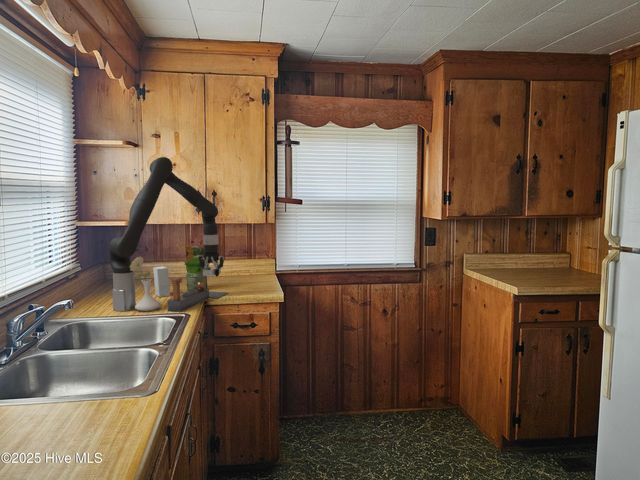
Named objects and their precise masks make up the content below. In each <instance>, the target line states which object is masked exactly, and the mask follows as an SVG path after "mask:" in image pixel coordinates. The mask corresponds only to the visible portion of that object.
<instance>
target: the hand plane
mask: <svg viewBox="0 0 640 480" xmlns="http://www.w3.org/2000/svg"><path fill="white" fill-rule="evenodd" d="M182 279H183V278H182V277H176V278H173V279H171V285H172V296H173V297H172V298H170V299H167V312H173V313H174V312H175V313H181V312H185V311H186V310H188V309H190V308H192V307H195V306H197V305H199V304H202V303H204V302H206V301H208V300H210V298H209V291H210V288H209V289H208V288H207V289H204V281H199V282H197V284H198V289H191V290H186V291H183V292H182V294H181V287H180V286H181V283H182V282H183V280H182Z"/></svg>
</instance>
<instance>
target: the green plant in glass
mask: <svg viewBox="0 0 640 480" xmlns="http://www.w3.org/2000/svg"><path fill="white" fill-rule="evenodd" d="M184 249H185V255H184V257H185V258H186V259H185V261H184V265H185V266H186V267H185V269H186V273H185V274H186V275H185V278H186V279H185V280H186V288H187V290H186V291H188V290H191V289H198V284H197V282H199V281H204V289H208V276H203V270H204V268H203V267H201V265H200V261H199V256H204V245H194V244H193V246H192V245H188V244H185V245H184ZM205 261H206V260H205V258H204V262H205Z"/></svg>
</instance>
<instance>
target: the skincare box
mask: <svg viewBox="0 0 640 480" xmlns="http://www.w3.org/2000/svg"><path fill="white" fill-rule="evenodd" d="M152 269H153V282H154V294H155V296H157V297H159V298H162V297H169V296H170V297H171V288H170V275H169V267H167V266H165V265H164V266H163V265H161V266H155V267H153V268H152Z"/></svg>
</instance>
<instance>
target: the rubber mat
mask: <svg viewBox="0 0 640 480" xmlns="http://www.w3.org/2000/svg"><path fill="white" fill-rule="evenodd" d="M228 293H229V292H225V291H224V292H223V291H210V290H209V299H216V300H217V299H218V300H219V299H220V298H223V297H224V295H225V296H227V295H229V294H228ZM226 294H227V295H226ZM222 296H223V297H222Z"/></svg>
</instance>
